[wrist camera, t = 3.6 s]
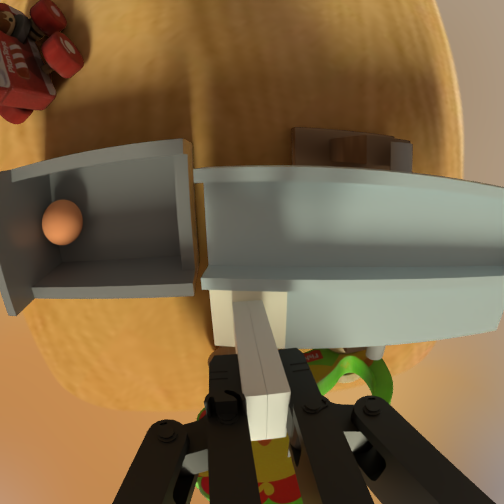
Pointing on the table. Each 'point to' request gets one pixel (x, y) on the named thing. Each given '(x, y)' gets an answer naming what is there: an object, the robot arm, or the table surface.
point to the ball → (62, 222)
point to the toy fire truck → (32, 59)
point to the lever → (353, 253)
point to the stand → (341, 154)
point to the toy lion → (276, 450)
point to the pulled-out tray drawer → (102, 225)
